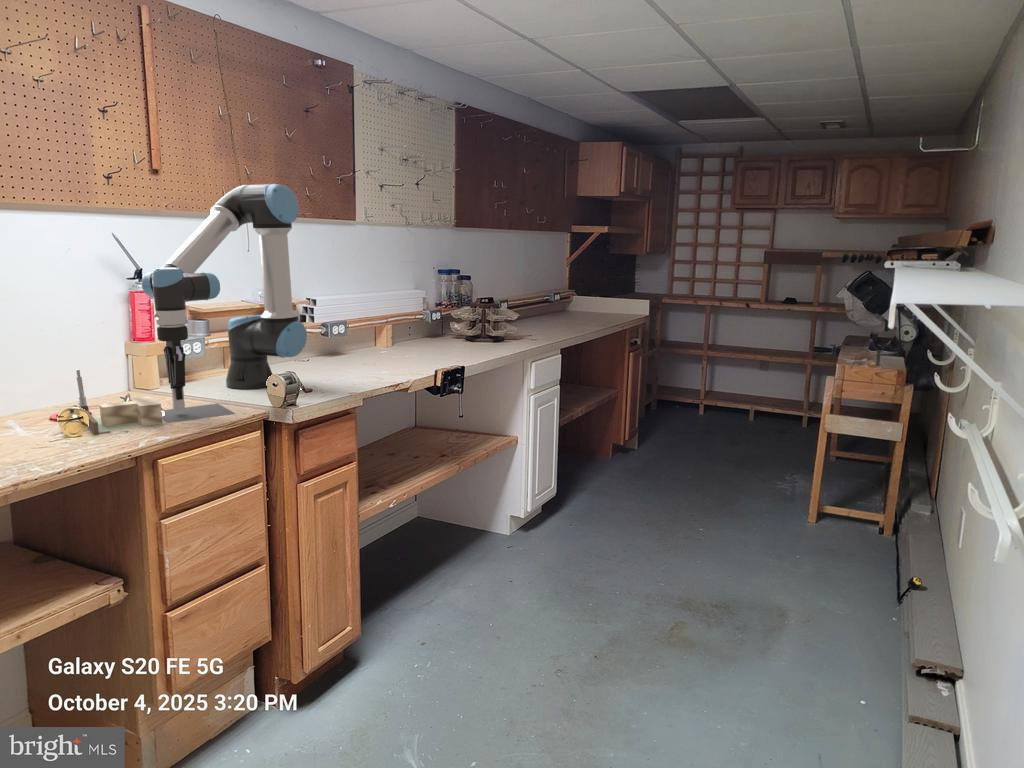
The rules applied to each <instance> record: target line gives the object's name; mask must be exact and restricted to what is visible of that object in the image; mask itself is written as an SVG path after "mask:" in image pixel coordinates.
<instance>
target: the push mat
mask: <svg viewBox="0 0 1024 768" xmlns="http://www.w3.org/2000/svg"><path fill="white" fill-rule="evenodd" d="M163 410H164V411H165V416H163V417H162V422H160V423H153V424H145V425H141V424H140V423H139V422H134V423H127V424H119V425H112V426H104V425H103V424H102V423H101V417H98V418H94V416H92V415H90V414H89V412H90V411H89V412H88V411H87V410H85V411H86V412H87V414H88V417H89V428H88V429H89V430H90V431H91V432H92V434H93V435H100V434H106V433H108V434H109V433H111V432H113V431H118V430H121V431H122V430H126V429H127V430H128V429H135V428H140V427H141V428H142V427H150V426H156V425H162V424H163V425H165V424H170V423H178V422H187V421H193V420H200V419H201V420H202V419H208V418H214V417H215V418H216V417H222V416H223V417H224V416H229V415H236V413H235V412H233V411H232V410H230V409H228V408H226V407H225V406H223V405H221V404H220V403H218V402H217V403H211V404H210V403H209V404H201V405H195V406H194V405H193V406H185V410H183V411H176V412H175V411H173V408H170V409H163Z"/></svg>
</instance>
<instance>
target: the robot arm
mask: <svg viewBox="0 0 1024 768" xmlns="http://www.w3.org/2000/svg"><path fill="white" fill-rule="evenodd" d="M299 211H300V206H299V201H298V198H297V197H296V195H295V193H294V192H293V191H292V190H291V188H289V187H288V186H287V185H285V184H279V183H265V184H264V183H262V184H243V185H240V186H239V185H238V186H236V187H235V188H233V189H232V190H230V191H228V192H227V193H225V194H224V195H223V196H222V197H221V198H219V200H217V201H216V202H215V204H213V206H212V207H211V208H210V210H209V213H210V215H209V216H208V217H207V218H206V219H204V221H203V222H202V223H201V224H200V225H199V226H198V227H197V229H195V231H193V233H192V234H191V235H190V236H189V237H188V238H187V239H186V240H185V241H184V242H183V244H182V245H181V246H179V248H178V249H176V251H175V252H174V253H173V255H172V256H171V257H170V258H169V259H168V260H167V261H166V262H165V263H164V264H163V265H162V267H156V268H154V269H153V270H152V271H148V272H147V273H145V274H144V275H143V276H142V279H141V289H142V290H143V292H144V293H145V295H146V296H147V297H150V298H153V299H154V301H153V302H154V310H155V313H154V314H153V318H155V319H156V320H155V321H156V325H157V327H156V333H157V334H156V335H157V340H158V341H159V342H165V346H164V348H163V353H164V356H165V357H164V358H165V366H166V372H167V379H168V384H170V386H169V387H170V389H171V397H172V409H173V411H175V412H176V411H183V410H185V407H186V405H185V392H184V391H185V390H184V387H186V353H185V351H184V350H185V349H184V347H183V346H182V343H181V341H186V340H188V338H189V332H188V326H187V323H188V318H187V308H186V303H187V302H197V301H208V300H212V299H215V298H217V297H218V295H219V294H220V293H221V292H220V291H221V283H220V280H219V278H218V277H217V276H216V275H215V274H214V273H211V272H197V273H196V271H197V270H198V269H199V268H200V267H201V266H202V264H204V263H205V261H206V260H207V259H208V258H209V257H210V256H211V255H212V254H213V252H214V251H215V250H216V249H217V247H219V246H220V244H222V242H223V241H224V240H225V239H226V238H227V236H228V235H229V234H230V233H231V232H235V231H236V232H237V230H238V229H239V228H240V227H241V226H243V225H245V224H249V223H252V229H253V231H255V232H256V233H257V234H258V241H259V244H258V245H259V253H260V254H259V255H260V256H259V257H260V265H261V266H260V267H261V278H262V279H261V281H262V293H263V304H264V305H263V306H264V310H263V312H262V313H261V314H256V315H247V316H238V317H233V318H230V319H229V321H228V323H227V324H228V326H227V328H228V329H227V335H228V345H229V346H228V348H229V359H230V364H229V366H228V370H227V375H226V379H225V385H226V387H227V388H230V389H239V390H241V389H242V390H247V389H248V390H250V389H251V390H252V389H260V388H261V389H263V388H266V387H265V386H266V381H267V379H268V377H269V376H271V375H273V376H274V374H273V372H272V369H271V367H270V364H269V362H268V357H269V356H270V357H279V358H283V359H284V358H294V357H296V356H298V355H300V354H301V352H302V351H303V349H304V348H305V346H306V344H307V341H308V340H307V339H308V332H307V328H306V327H305V325H304V323H302V322H301V321H299V314H298V313H297V312H295V310H294V309H293V295H292V280H291V269H290V254H289V253H290V251H289V240H288V239H289V238H288V235H289V232H290V231H291V230H292V229H293V222H295V221H296V220H297V219H298V217H297V216H299Z"/></svg>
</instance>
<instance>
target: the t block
mask: <svg viewBox="0 0 1024 768" xmlns="http://www.w3.org/2000/svg"><path fill="white" fill-rule="evenodd" d="M161 410H162V404H161V402H159V401H157V400H156V399H154V398H153V397H151V396H150V395H147V396H137V397H130V398H129V401H121V402H111V403H104V404H99V412H100V414H99V415H100V418H101V423H102V424H103V425H104V426H112V425H119V424H127V423H134V422H139V423H140V424H141V425H145V424H153V423H160V422H162V412H161Z"/></svg>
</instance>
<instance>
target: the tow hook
mask: <svg viewBox="0 0 1024 768" xmlns="http://www.w3.org/2000/svg"><path fill="white" fill-rule="evenodd" d="M76 381H77V389H78V395H79V397H78V400H79V408H80V407H81V408H83V409H85V410H87V411H88V412H89V414H90V415H91V416H92V412H91V411H90V408H89V406H88V403H87V397H86V395H85V391H84V385H83V384H84V383H83V378H82V376H81V370H80V369H76ZM59 413H60V412H56V413H53V414H51V415H50V416H49V420H50V421H52V420H54V421H53V422H58V421H57V418H58V417H57V416H58V414H59Z"/></svg>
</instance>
